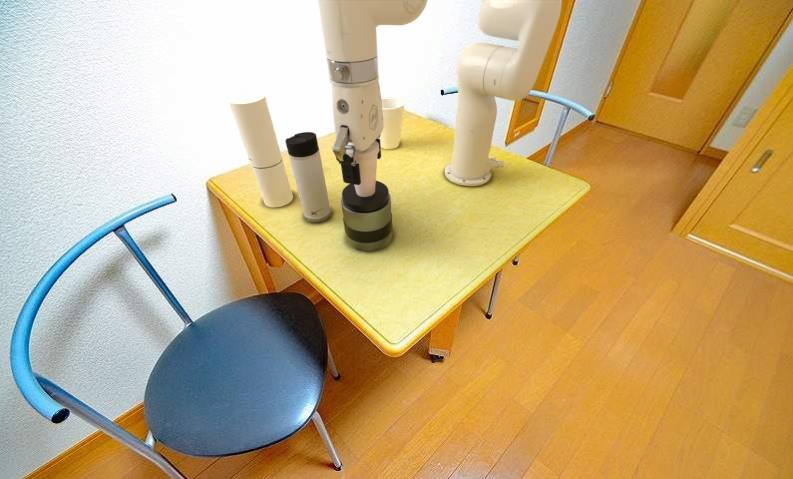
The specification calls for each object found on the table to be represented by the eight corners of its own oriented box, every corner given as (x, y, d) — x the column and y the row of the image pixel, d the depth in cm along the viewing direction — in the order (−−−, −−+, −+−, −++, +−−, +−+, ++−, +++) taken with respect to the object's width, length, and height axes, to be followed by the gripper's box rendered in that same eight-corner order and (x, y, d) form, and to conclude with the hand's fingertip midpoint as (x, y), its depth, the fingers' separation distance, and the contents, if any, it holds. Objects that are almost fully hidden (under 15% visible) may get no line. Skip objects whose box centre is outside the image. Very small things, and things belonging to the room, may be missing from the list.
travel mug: (320, 226, 74) (301, 145, 61) (299, 217, 77) (277, 137, 63) (337, 212, 78) (323, 132, 65) (317, 204, 81) (299, 126, 67)
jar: (388, 218, 76) (386, 175, 68) (396, 248, 68) (395, 203, 61) (344, 224, 75) (337, 181, 67) (348, 255, 67) (340, 210, 59)
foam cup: (378, 137, 109) (375, 97, 100) (405, 138, 108) (405, 98, 99) (372, 150, 102) (369, 108, 93) (401, 152, 101) (401, 109, 92)
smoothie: (377, 202, 61) (372, 130, 52) (344, 199, 62) (334, 127, 53) (385, 184, 66) (381, 115, 56) (354, 181, 67) (346, 113, 57)
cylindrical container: (283, 188, 86) (254, 89, 70) (298, 198, 83) (271, 97, 66) (259, 199, 83) (221, 98, 66) (272, 211, 79) (237, 106, 62)
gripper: (351, 89, 42) (363, 198, 54) (395, 57, 54) (397, 151, 66) (301, 85, 44) (323, 191, 55) (354, 54, 56) (363, 146, 68)
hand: (363, 169), depth 61 cm, fingers open, 9 cm apart
